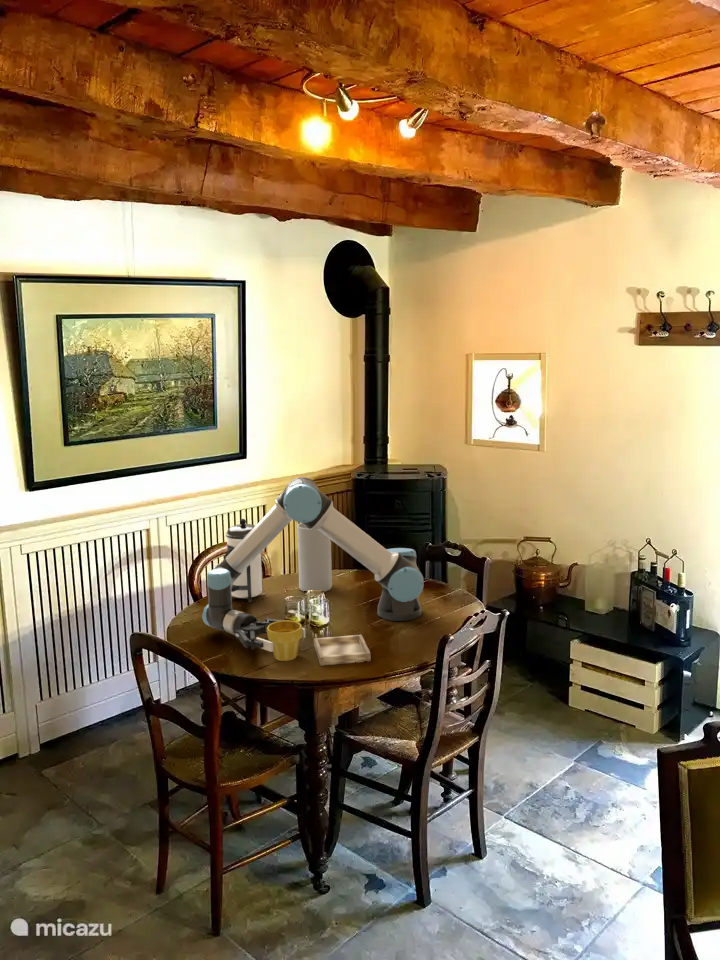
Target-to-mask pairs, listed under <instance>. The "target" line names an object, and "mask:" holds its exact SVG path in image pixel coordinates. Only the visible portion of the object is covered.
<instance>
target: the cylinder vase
mask: <svg viewBox="0 0 720 960" xmlns="http://www.w3.org/2000/svg"><path fill="white" fill-rule="evenodd" d="M297 552H298V553H297V554H298V555H297V557H298V559H297V560H298V587H299V590H301V591H302V592H304V591H308V590H322V591H324V592H323V593H325V592H327V591H330V590H331V589H332V587H333V580H332V579H333V578H332V576H333V575H332V540H331V539H329V538H328V537H327V536H325V535H324V534H323V533H322V532H320V531H319V530H318V529H311V530H310V529H309V528H307V527H306V526H305V525H304V524H302V523H300V522H299V523H297Z"/></svg>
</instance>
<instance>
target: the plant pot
mask: <svg viewBox="0 0 720 960" xmlns="http://www.w3.org/2000/svg"><path fill="white" fill-rule="evenodd" d="M283 620H284V621H277V622H274V623H271V624H270V625H268V627H266V631H267V639H268V641H270V642H273V651H272V653H273V656H274V658H275V660H276V659H277V660H276V661H279V662H289V661H292V660H295V659H296V658H297V656H298V651H299V645H300V639H302V628H303V625H302V623H301V622H298V621H295V620H288V619H287V620H286V619H283Z"/></svg>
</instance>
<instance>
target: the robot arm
mask: <svg viewBox="0 0 720 960" xmlns="http://www.w3.org/2000/svg"><path fill="white" fill-rule="evenodd" d="M292 521H295V522H297V523H299V524H300V523H302V524H304V525H305V526H306V527H307V528H309V529H310V530H311V529H318V530H319V531H320V532H322V533H323V534H324V535H325V536H327V537H328V538H329V539H331V542H333V543H334V544H336V545H337V546H338V547H340V548H341V549H342V550H343V551H344V552H346V553H347V554H349V555H350V556H351V557H352V558H353V559H355V560H356V561H357V562H359V563H360V564H361V565H362V566H364V567H365V568H366V569H368V570H369V571H370V572H371V573H372V574H374V581H376V582H377V583H378V584H380V585H381V587H382V592H381V594H380V598H379V601H378V605H377V615H378V617H380V618H382V619H384V620H387V621H393V622H401V621H403V622H405V621H411V620H416V619H417V617H418V618H419V617H420V616H421V615H422V606H421V603H420V600H419V597H420V595H421V594H422V592H423V589H424V586H425V585H424V576H423V573H422V572H421V571H420V568H419V567H418V566H417V552H416V550H415V549H413V548H406V547H394V548H385V547H384V546H383V545H381V544H380V543H379V542H377V540H375V539H374V538H372V536H370V535H369V534H368V533H366V532H365V531H364V530H362V529H361V528H360V527H359V526H357V525H356V524H355V523H354V522H353V521H351V520H350V519H348V518H347V517H346V516H345V515H343V514H342V513H341V512H340V511H338V510H337V509H336V508H335V507H334V501H333V500H332V499H331V498H329V497H328V496H327V495H326V494H324V493H323V492H322V491H321V490H320V488H319V486H318V484H317V483H316V482H315V481H314V480H312V479H311V478H310V477H309V478H308V477H304V476H303V477H302V476H301V477H296V478H294V479H292V480H291V481H290V482H288V484H287V485H286V487H285V488H284V490H282V492H281V493H280V494H279V495H278V497H277V498H276V499H275V504H274V506H273V507H271V509H270V510H269V511H268V512H267V513H266V514H265V515H264V516H263V517H262V519H260V521H259V522H258V523H257V524H256V525H255V527H254V528H253V529H252V530H251V531H250V532H249V533H248V534H247V535H246V537H245V538H244V539H243V540H242V541H241V542H240V543H239V544H238V545H237V546H236V547H235V548H234V549H233V550H232V552H231V553H230V554H229V555H228V556H227V557H226V558H225V559H224V558H223V560H222V561H221V562H219V563H217V565H216V566H215V567H214V568H213V569H211V570H209V571H208V572H207V575H206V579H207V581H206V584H207V597H208V599H207V600H208V603H207V605H206V606H205V607H204V608H203V612H202V615H201V618H202V622H203V623H204V624H205V625H206V626H208V627H211V628H213V629H214V630H219V631H222V632H226V633H229V634H231V635H234V636H235V639H236V640H239V642H240V643H241V645H242V646H243V647H244V648H245V649H249V648H250V649H251V650H256V648H259V649H262V650H264V651H267V652H270V653H271V652H272V653H273V642H271V641H270V640H267V639H264V638H261V637H259V636H260V635H262V634H267V627H268V625H270V624H271V623H274V622H277V621H284V620H285V619H273V618H268V617H266V618H265V619H264V620H265V621H261V620H258V619H257V617H256V616H255V615H253V614H251V613H246V612H244V611H240V610H237V609H234V608H233V599H232V598H233V597H232V586H233V582H234V581H235V580H236V579H237V578H238V577H239V576H240V574H241V573H242V572H243V571H244V570H245V569H246V568H247V567H248V566H249V565H250V564H251V563H252V562H253V560H254V559H255V558H256V557H257V556H258V555H259V554H260V553H261V554H262V552H263V551H264V550H265V549H266V548H267V547H268V546H269V545H270V543H272V542H273V541H274V540H275V539H276V537H278V535H279V534H280V533H282V531H283V530H284V529H285V528H286V527H287V526H288V525H289V524H290V523H291V522H292ZM256 636H257V637H256ZM302 638H303V639H305V638H307V637H306V628H305V627H302V637H301V639H302Z"/></svg>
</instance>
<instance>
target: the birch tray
mask: <svg viewBox="0 0 720 960" xmlns="http://www.w3.org/2000/svg"><path fill="white" fill-rule="evenodd" d="M313 647H314V650H315V653H316V656H317V659H318V662H319V666H330V665H341V664H354V663H355V662H356V663H364V661H367V662H371V657H372V656H371V655H372V654H371V651H370V649H369V647H368V645H367V644H366V641H365V639H364V637H363V634H354V635H353V634H352V635H343V636H342V635H341V636H340V635H338V636H330V637H329V636H328V637H326V636H325V637H316V638H315V637H314V638H313Z"/></svg>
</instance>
